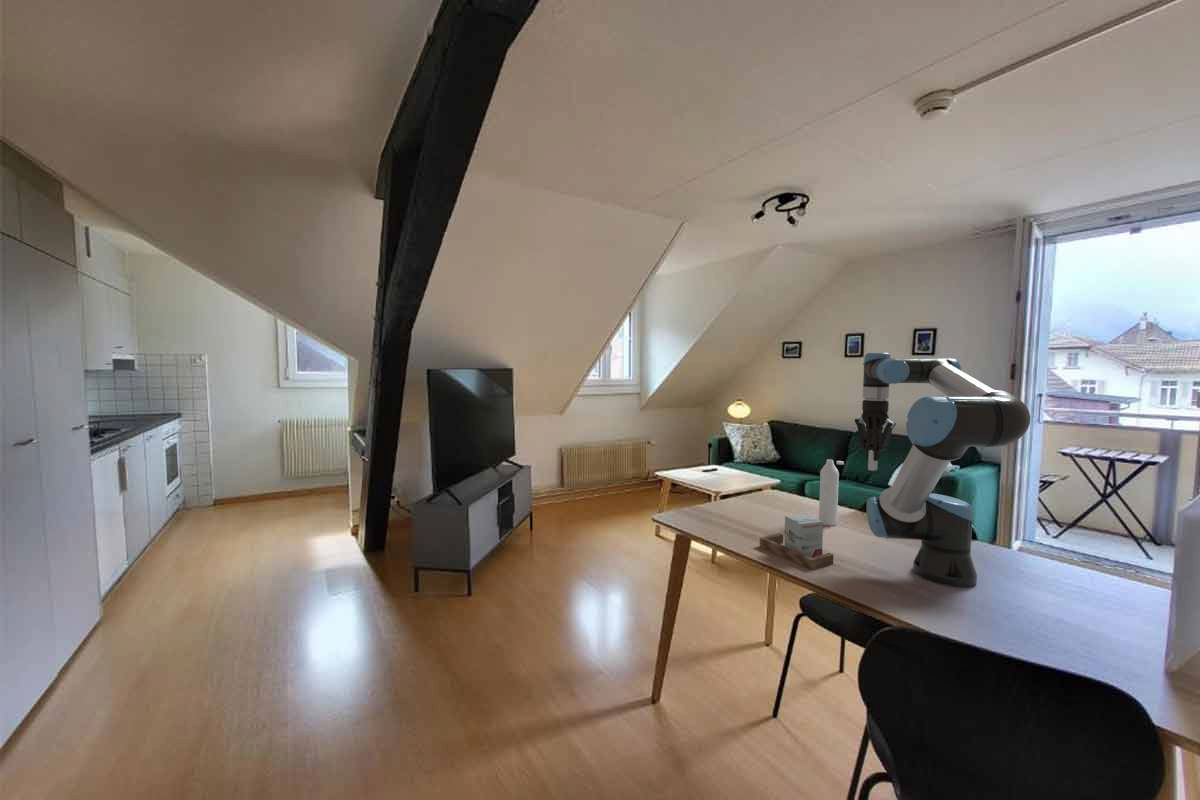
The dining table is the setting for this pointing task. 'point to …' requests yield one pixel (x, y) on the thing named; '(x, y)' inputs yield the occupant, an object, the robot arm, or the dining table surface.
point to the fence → (794, 553)
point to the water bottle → (829, 493)
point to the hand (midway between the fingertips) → (872, 469)
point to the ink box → (804, 534)
